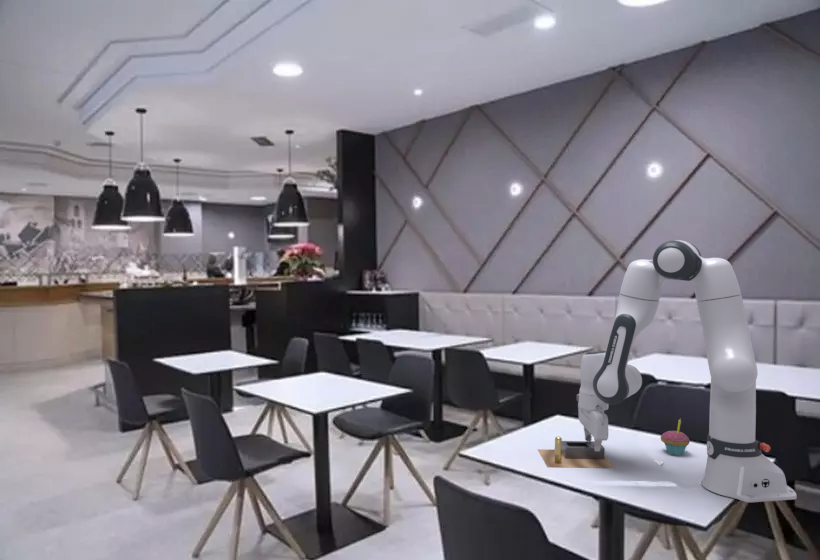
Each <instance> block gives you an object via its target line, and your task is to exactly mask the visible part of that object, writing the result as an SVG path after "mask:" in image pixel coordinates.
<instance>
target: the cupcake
mask: <svg viewBox="0 0 820 560" xmlns="http://www.w3.org/2000/svg"><path fill="white" fill-rule="evenodd" d="M681 419H682V418H679V419H678V423H677V430H667V431H665V432H663V433H662V434H661V436H660V440H661V442H662V443H664V446H665V448H666V449H665V450H666V452H667V453H668V454H669V455H671V456H683V455H684V453H685V451H686V448H687V446H689V444H690V442H691V440H690V438H689V436H688V435H686V434H685V433H684V432H682V431H681V430H680V429H681V424H682V420H681Z"/></svg>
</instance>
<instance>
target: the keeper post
mask: <svg viewBox="0 0 820 560" xmlns="http://www.w3.org/2000/svg"><path fill="white" fill-rule="evenodd" d="M562 441H563V438H562V437H561V436H555V438H554V450H555V463H556V464H561V463H562Z"/></svg>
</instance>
